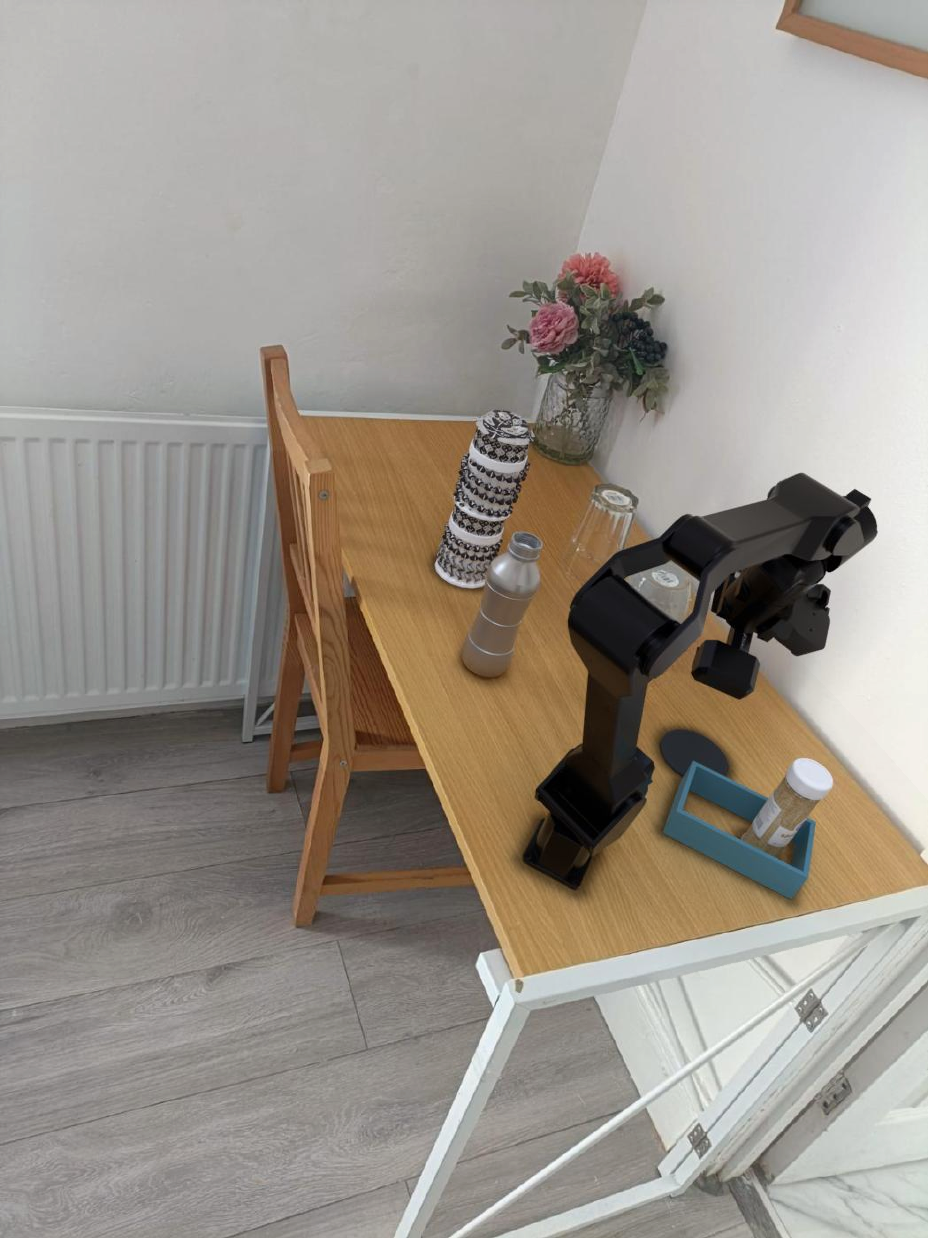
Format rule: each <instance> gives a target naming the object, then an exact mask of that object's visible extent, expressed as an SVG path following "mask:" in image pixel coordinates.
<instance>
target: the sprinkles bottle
mask: <svg viewBox="0 0 928 1238" xmlns="http://www.w3.org/2000/svg"><path fill="white" fill-rule="evenodd" d="M833 786H834V778H833V776H832V774H831V773H830V771H829V770H828V769H827V768H826V767H825V766H823V764H821V763H820V762H818V761H816V760H814V759H811V758H808V757H798V758H796V759H795V760H793V761H792V763H791V764H790V765H789V767H788V768H787V769H786V771H785V774H784V777H783V778H782V779H781V781H780V783H779V784H778V786H777V787H776V788H775V789H774V790H773V792H772V793H771V794H770V796H769V797H768V798H769V799H768V800H767V802H766V803H765V805H764V806H763V807H762V809H761V810H760V812H759V813H758V815H757V816H756V817H755V819H754V821H753V823H752V822H751V825H750V826H749V827H748V829H747V830H746V831H745V832H744V833H743V834H742V835H741V836H740V840H742V841H744V842H746V843H748V844H750V845H752V846H754V847H756V848H758V849H760V850H762V851H763V852H765V853H767V854H769V855H771V856H773V857H775V858H777V859H779V856H780V854H781V853H782V851H783V850H785V848H786V847H787V846H788V844H789V843H791V842H790V841H791V839H792V838H793V837H794V835H795V834H796V832H797V831H798V830H799V828H800V827H801V826H802V824H803V823H804V822H805V820H806V819H807V818H809V815H810V814H811V813H812V812H813V810H814V809H815V807H816V806H817V804H819V803H820V801H822V800H823V799H825V798H826V796H828V794H829V792H830V791H831V790H832V788H833Z"/></svg>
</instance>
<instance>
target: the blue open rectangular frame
mask: <svg viewBox="0 0 928 1238" xmlns="http://www.w3.org/2000/svg"><path fill="white" fill-rule="evenodd" d="M689 792H691V793H694V794H695V795H698V796H699V797H700V798H703V799H705V800H707V801H709V802H711V803H714V805H717V806H719V807H721V808H723V809H725V810H727V811H728V812H731V813H732V814H735V815H736V816H739V817H741V818H743V819H745V820H747V821H749V822H750V823H751V824H752V823H753V821H754V819H755V817H756V816H757V815H758V813H759V812H760V810H761V809H762V807H763V806H764V805H765V803H766V802H767V800H768V799H769V797H767V796H765V795H763V794H761V793H759V792H757V791H755V790H753V789H751V788H749V787H747V786H745V785H743V784H741V783H739V782H737V781H735V780H733V779H731V778H729V777H727V776H726V777H725V776H723V775H721V774H719V773H717V772H715V771H713V770H711V769H709V768H707V767H705V766H703V765H701V764H699V763H697V762H695V761H693V762H692V763H691V765H690V767H689V768H688V770H687V772H686V773H685V775H684V777H682V778H681V780H680V782H679V784H678V788H677V790H676V794H675V795H674V798H673V802H672V805H671V808H670V811H669V814H668V816H667V819H666V822H665V825H664V828H663V831H662V834H664V835H666V836H668V837H669V838H671V839H673V840H674V841H677V842H679V843H681V844H683V845H684V846H687V847H688V848H691V849H692V850H695V851H697V852H699V853H700V854H702V855H704V856H706V857H707V858H709V859H712V860H713V861H715V862H717V863H720V864H721V865H723V866H725V867H727V868H729V869H731V870H733V871H735V872H737V873H738V874H740V875H743V876H745V877H747V878H748V879H751V880H752V881H754V882H756V883H758V884H760V885H762V886H764V887H766V888H768V889H770V890H771V891H773V892H775V893H777V894H779V895H781V896H783V897H785V898H787V899H788V900H792V899H793V898H794V896H795V895H796V894H797V893H798V891H799V890H800V889H801V888H802V887H803V885H804V884H805V883H806V881H807V880H808V879H809V874H810V867H811V860H812V853H813V848H814V847H813V845H814V839H815V832H816V824H817V822H816V821H815V820H813V819H811V818H809V817H807V819H806V820H805V822H804V823H803V824H802V826H801V827H800V828H799V830H798V831H797V832H796V834H795V835H794V837H793V838H792V839H791V841H790V842H789V843H792V844H793V850H792V858H791V863H790V864H789V863H787V862H785V861H783V860H781V859H779V858H778V859H777V858H775V857H773V856H771V855H769V854H767V853H765V852H763V851H762V850H760V849H758V848H756V847H754V846H752V845H750V844H748V843H746V842H744V841H742V840H741V838H738V837H736V836H734V835H732V834H730V833H729V832H726V831H724V830H722V829H721V828H718V827H716V826H715V825H713V824H710V823H709V822H706V821H705V820H703V819H700V817H697V816H695V815H693V814H691V813H690V812H687V811H686V810H684V807H685V804H686V801H687V797H688V794H689Z"/></svg>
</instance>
